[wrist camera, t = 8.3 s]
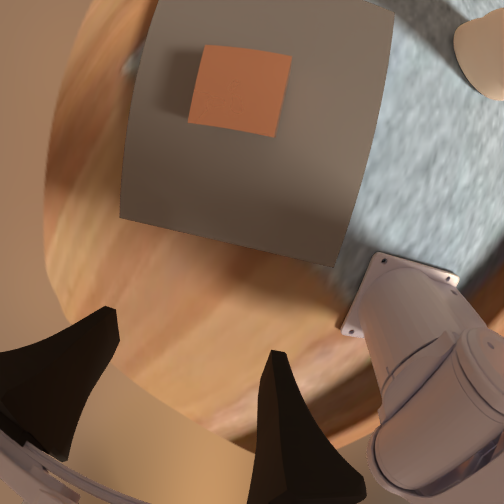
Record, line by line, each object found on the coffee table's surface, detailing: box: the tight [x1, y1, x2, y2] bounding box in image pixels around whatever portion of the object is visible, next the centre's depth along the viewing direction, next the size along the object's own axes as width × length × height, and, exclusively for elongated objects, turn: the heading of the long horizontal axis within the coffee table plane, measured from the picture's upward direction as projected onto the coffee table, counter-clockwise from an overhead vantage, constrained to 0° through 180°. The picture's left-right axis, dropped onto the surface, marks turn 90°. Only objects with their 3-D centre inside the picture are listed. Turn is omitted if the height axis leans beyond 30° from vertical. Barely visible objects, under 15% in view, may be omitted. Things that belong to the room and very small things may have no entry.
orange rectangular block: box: [188, 45, 292, 138], centre depth 13 cm, size 4×4×6 cm
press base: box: [120, 0, 395, 268], centre depth 15 cm, size 15×18×3 cm
